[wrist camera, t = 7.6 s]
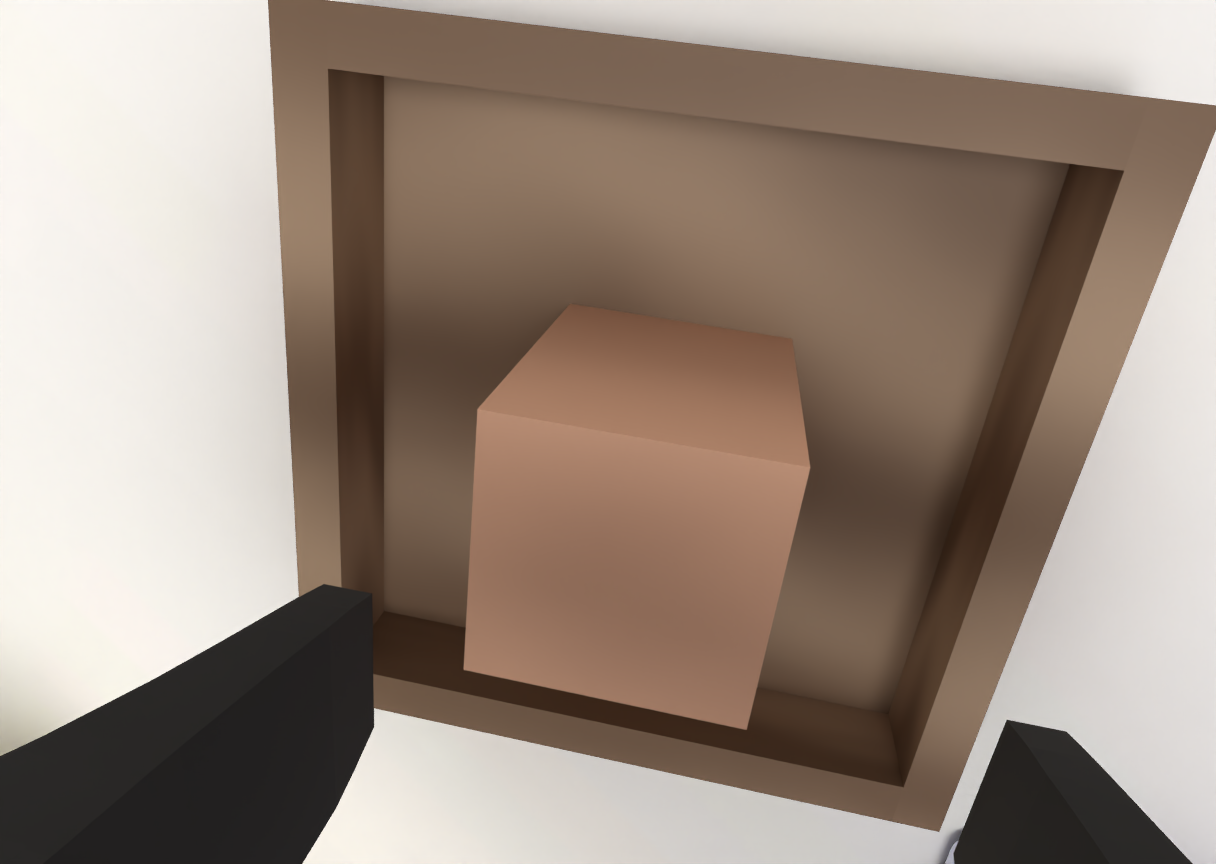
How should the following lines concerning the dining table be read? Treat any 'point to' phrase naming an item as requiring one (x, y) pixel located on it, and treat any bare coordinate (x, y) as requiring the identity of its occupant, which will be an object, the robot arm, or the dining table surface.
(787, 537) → the terracotta block
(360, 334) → the walnut tray
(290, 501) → the dining table surface
